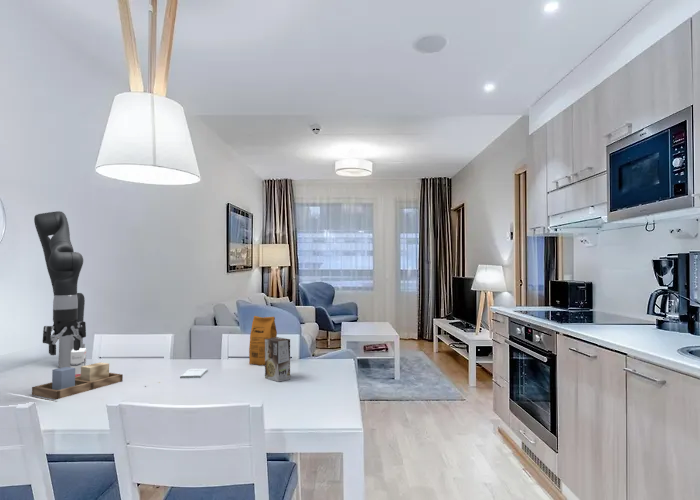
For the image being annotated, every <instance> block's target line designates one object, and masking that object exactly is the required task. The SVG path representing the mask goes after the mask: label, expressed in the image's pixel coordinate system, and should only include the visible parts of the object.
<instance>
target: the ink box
mask: <svg viewBox="0 0 700 500" xmlns="http://www.w3.org/2000/svg"><path fill="white" fill-rule="evenodd" d="M86 365H87V347H85V348H80V349H79V350H78V351H75V350H74V348H73V349H72V351H71V356H70V367H71V368H75V377H77V376H81V367H82V366H86Z"/></svg>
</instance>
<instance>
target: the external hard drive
mask: <svg viewBox="0 0 700 500" xmlns="http://www.w3.org/2000/svg"><path fill="white" fill-rule="evenodd" d="M208 371H209V369H208V368H189V369H187V370H185V372H183V373H182V374H180V376H179V379H201V378H202V377H203V376H204V375H205V374H206V373H207V372H208Z"/></svg>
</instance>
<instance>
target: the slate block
mask: <svg viewBox="0 0 700 500" xmlns="http://www.w3.org/2000/svg"><path fill="white" fill-rule="evenodd" d="M51 372H52V373H51V375H52V377H51V379H52V380H51V382H52V389H54V390H61V389H65V388H69V387H73V386H75V368H71V367H63V368H59V367H58V368H55V369H52V371H51Z"/></svg>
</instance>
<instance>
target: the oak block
mask: <svg viewBox="0 0 700 500" xmlns="http://www.w3.org/2000/svg"><path fill="white" fill-rule="evenodd" d="M109 373H110V363H108V362H102V361H101V362H95V363H91V364H86V366H82V367H81V380H84V381H90V382H92V381H96V380H100V379H104V378H108V377H109Z"/></svg>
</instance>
